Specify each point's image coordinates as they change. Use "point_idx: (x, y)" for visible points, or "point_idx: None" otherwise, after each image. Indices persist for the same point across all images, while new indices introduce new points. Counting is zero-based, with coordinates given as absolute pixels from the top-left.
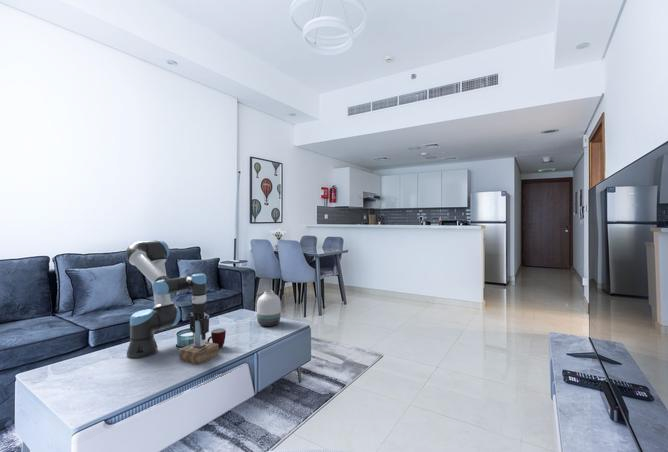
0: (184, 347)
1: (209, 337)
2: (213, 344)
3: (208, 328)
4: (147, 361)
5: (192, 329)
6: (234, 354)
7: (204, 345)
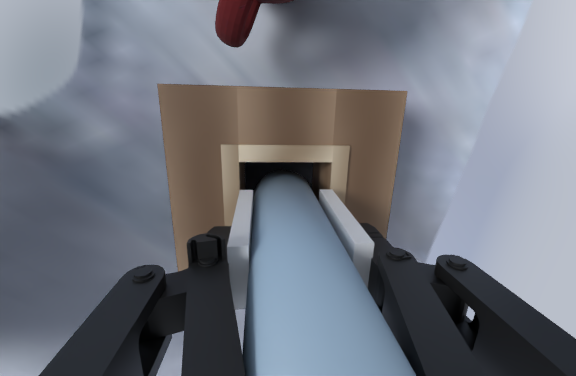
0: (183, 264)
1: (233, 13)
2: (368, 119)
3: (513, 304)
4: (40, 333)
5: (173, 330)
6: (474, 45)
7: (299, 161)
